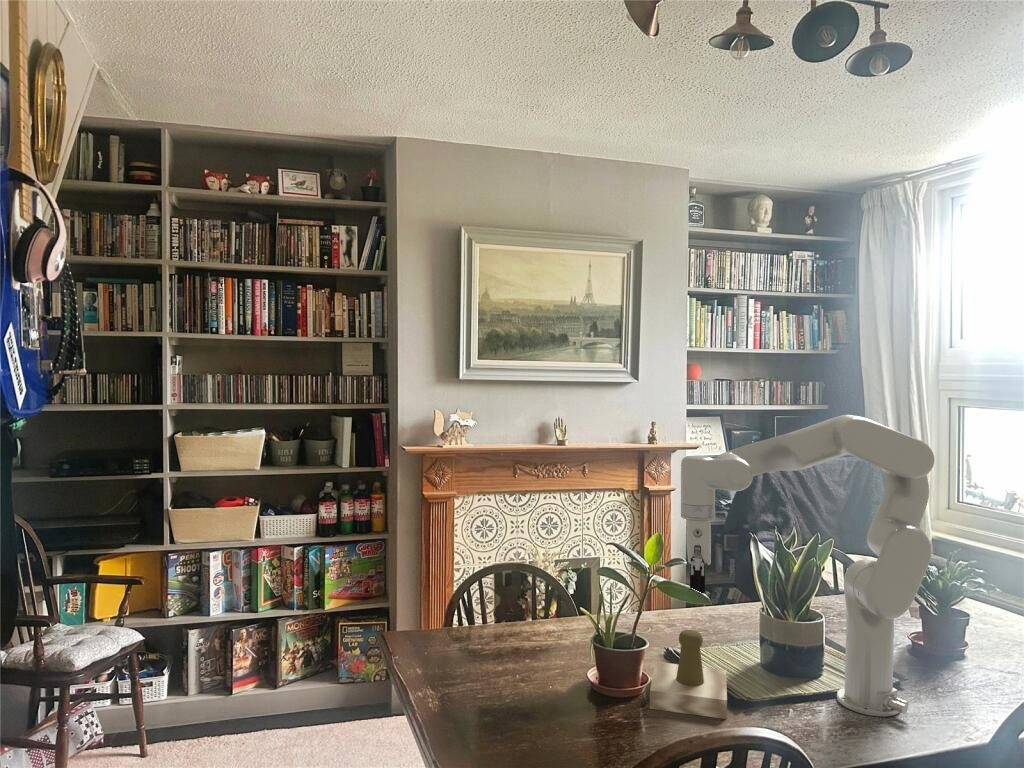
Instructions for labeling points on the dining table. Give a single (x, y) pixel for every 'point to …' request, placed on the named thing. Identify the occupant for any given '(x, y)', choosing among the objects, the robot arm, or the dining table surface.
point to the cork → (690, 659)
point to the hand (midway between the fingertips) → (697, 586)
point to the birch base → (689, 692)
